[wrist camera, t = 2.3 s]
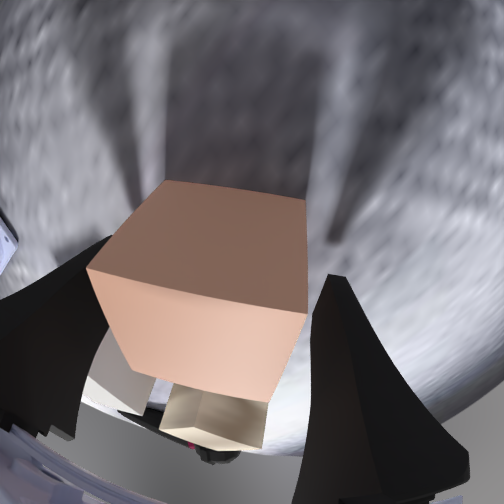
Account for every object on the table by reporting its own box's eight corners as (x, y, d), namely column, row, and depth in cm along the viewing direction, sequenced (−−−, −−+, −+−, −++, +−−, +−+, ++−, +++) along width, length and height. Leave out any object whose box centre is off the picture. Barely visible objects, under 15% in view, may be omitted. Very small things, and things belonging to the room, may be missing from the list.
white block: (77, 306, 16) (44, 362, 12) (123, 302, 14) (85, 373, 11) (118, 349, 19) (94, 402, 15) (166, 352, 17) (142, 416, 13)
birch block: (177, 372, 19) (158, 429, 15) (213, 354, 16) (193, 426, 12) (228, 397, 20) (217, 450, 17) (270, 384, 18) (261, 449, 14)
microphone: (123, 385, 33) (253, 424, 27) (114, 419, 30) (243, 467, 24) (98, 376, 29) (237, 424, 22) (88, 413, 26) (225, 475, 19)
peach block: (174, 278, 12) (131, 369, 9) (166, 178, 9) (85, 267, 5) (281, 298, 12) (269, 402, 8) (305, 199, 9) (307, 313, 5)
